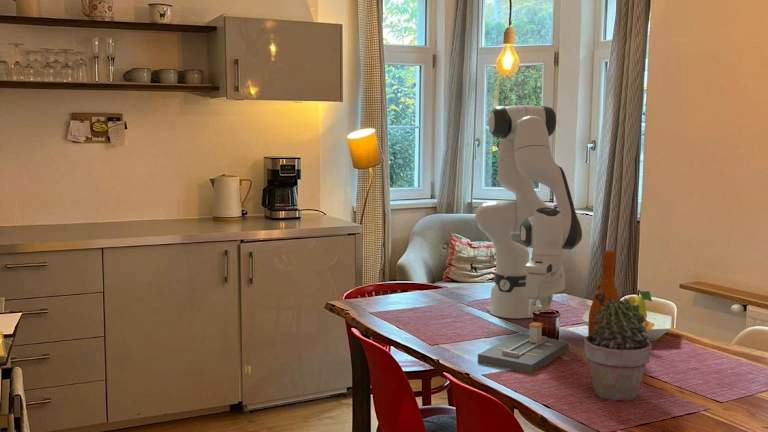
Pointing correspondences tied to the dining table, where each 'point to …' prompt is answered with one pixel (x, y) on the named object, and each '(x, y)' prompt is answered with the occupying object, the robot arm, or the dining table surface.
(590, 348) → the potted plant
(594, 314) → the wine bottle
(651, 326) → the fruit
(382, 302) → the dining table surface
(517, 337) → the board
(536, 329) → the fader tab
